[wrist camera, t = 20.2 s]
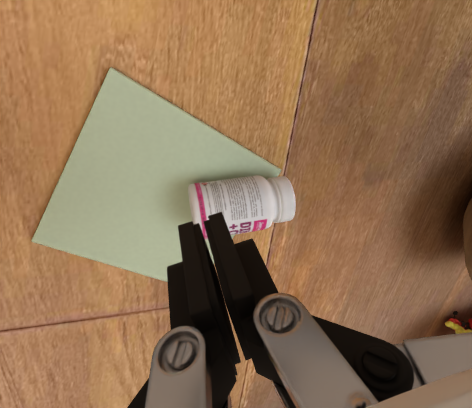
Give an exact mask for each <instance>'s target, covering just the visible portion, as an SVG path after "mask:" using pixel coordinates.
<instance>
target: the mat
mask: <svg viewBox="0 0 472 408" xmlns="http://www.w3.org/2000/svg"><path fill="white" fill-rule="evenodd" d="M280 172H281V169H280V168H278V167H277V166H275V165H273V164H272V163H270V162H268V161H267V160H265V159H263V158H262V157H260V156H258V155H257V154H255V153H253V152H252V151H250V150H248V149H247V148H245V147H244V146H242V145H240V144H239V143H237V142H235V141H234V140H232V139H230V138H229V137H227V136H225V135H224V134H222V133H220V132H219V131H217V130H215V129H214V128H212V127H210V126H209V125H207V124H205V123H204V122H202V121H200V120H199V119H197V118H195V117H194V116H192V115H190V114H189V113H187V112H185V111H184V110H182V109H180V108H179V107H177V106H175V105H174V104H172V103H170V102H169V101H167V100H166V99H164V98H162V97H161V96H159V95H157V94H156V93H154V92H152V91H151V90H149V89H147V88H146V87H144V86H142V85H141V84H139V83H137V82H136V81H134V80H132V79H131V78H129V77H127V76H126V75H124V74H122V73H121V72H119V71H117V70H116V69H114V68H112V67H110V69H109V71H108V73H107V75H106V77H105V80H104V82H103V84H102V86H101V88H100V91H99V93H98V95H97V97H96V99H95V102H94V104H93V106H92V108H91V110H90V113H89V115H88V117H87V119H86V121H85V124H84V126H83V128H82V130H81V132H80V135H79V137H78V139H77V141H76V144H75V146H74V148H73V150H72V152H71V155H70V157H69V159H68V161H67V163H66V166H65V168H64V170H63V172H62V174H61V177H60V179H59V181H58V183H57V185H56V188H55V190H54V192H53V194H52V196H51V199H50V201H49V203H48V205H47V207H46V210H45V212H44V214H43V216H42V218H41V221H40V223H39V225H38V227H37V229H36V232H35V234H34V236H33V238H32V241H31V242H34V243H38V244H41V245H44V246H48V247H51V248H54V249H58V250H61V251H65V252H68V253H71V254H75V255H78V256H81V257H85V258H88V259H92V260H95V261H98V262H102V263H105V264H108V265H112V266H115V267H118V268H122V269H125V270H129V271H132V272H135V273H139V274H142V275H145V276H149V277H152V278H155V279H159V280H162V281H166V282H168V279H167V267H168V266H170V265H173V264H176V263H179V262H182V254H181V246H180V239H179V232H178V225H181V224H184V223H187V222H190V221H192V216H191V210H190V204H189V196H188V187H189V185H190V184H193V183H202V182H211V181H218V180H226V179H233V178H240V177H247V176H255V175H259V176H262V177H264V178H265V179H266V180H267V179H268V178H272V177H277V176H278V175H279V174H280ZM234 236H235V234H234V235H231V237H232V238H233V237H234ZM205 241H206V244H207V247H208V250H209V253H210V256H211V258H212V261H213V264H214V259H213V255H212V252H211V248H210V244H209V241H208V239H205Z"/></svg>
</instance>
